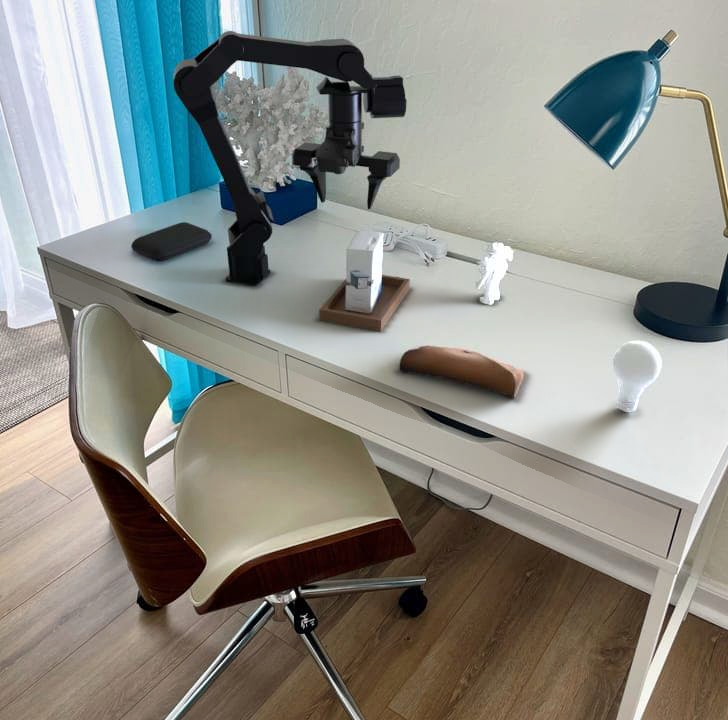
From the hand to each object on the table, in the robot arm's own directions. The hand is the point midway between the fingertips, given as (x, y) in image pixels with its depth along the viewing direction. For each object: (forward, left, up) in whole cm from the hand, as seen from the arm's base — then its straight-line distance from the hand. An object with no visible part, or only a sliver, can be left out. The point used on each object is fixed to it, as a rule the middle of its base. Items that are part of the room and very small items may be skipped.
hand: (346, 205), depth 136 cm
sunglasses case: (+30, -29, -13) cm, 43 cm away
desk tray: (+8, -12, -13) cm, 20 cm away
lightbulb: (+54, -30, -13) cm, 63 cm away
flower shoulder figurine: (+29, -3, -13) cm, 32 cm away
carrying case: (-37, -3, -13) cm, 40 cm away
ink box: (+8, -12, -13) cm, 19 cm away
